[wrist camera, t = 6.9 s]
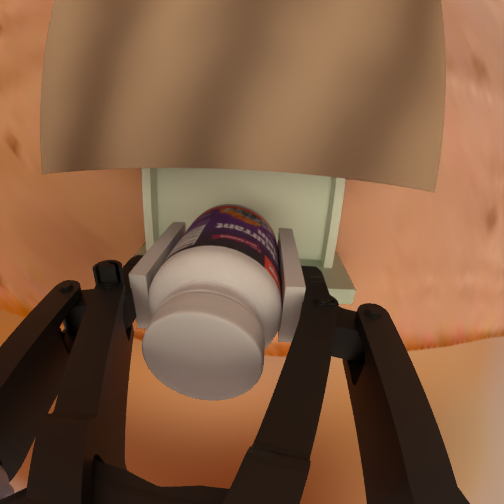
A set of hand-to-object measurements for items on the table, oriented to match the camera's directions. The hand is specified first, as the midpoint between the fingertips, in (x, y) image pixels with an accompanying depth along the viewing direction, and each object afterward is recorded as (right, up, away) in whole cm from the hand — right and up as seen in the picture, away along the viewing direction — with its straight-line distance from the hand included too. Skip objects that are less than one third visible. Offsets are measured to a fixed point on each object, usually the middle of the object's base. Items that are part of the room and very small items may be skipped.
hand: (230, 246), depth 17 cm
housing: (+1, +16, +6) cm, 17 cm away
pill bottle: (0, 0, 0) cm, 1 cm away
